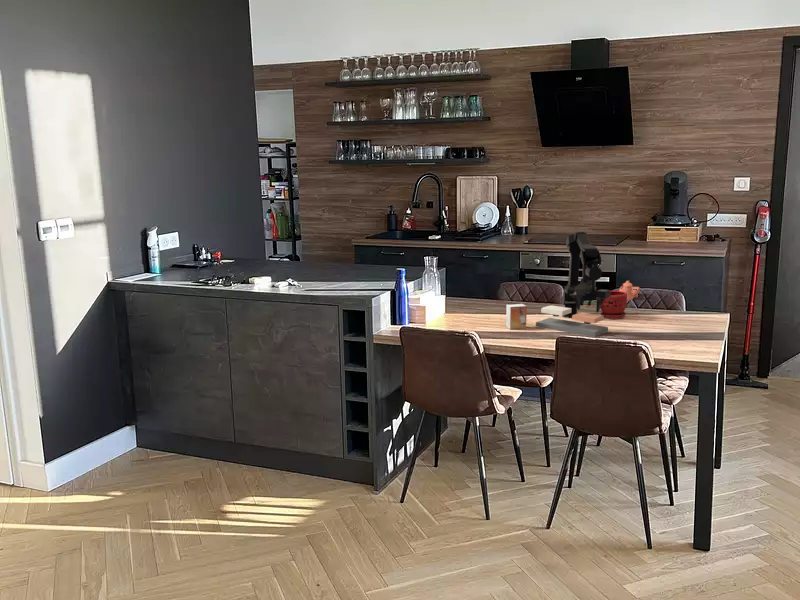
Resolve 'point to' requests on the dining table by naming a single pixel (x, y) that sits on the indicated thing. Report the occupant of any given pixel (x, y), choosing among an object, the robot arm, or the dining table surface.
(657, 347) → the dining table surface
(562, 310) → the cream rectangular block
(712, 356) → the dining table surface
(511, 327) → the small box
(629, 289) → the pottery
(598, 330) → the key panel
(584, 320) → the terracotta key
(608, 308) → the plant pot
